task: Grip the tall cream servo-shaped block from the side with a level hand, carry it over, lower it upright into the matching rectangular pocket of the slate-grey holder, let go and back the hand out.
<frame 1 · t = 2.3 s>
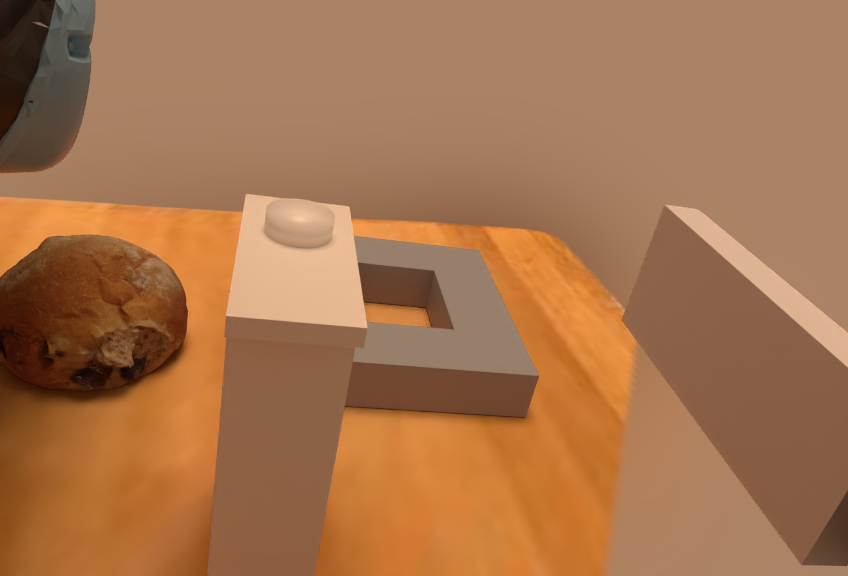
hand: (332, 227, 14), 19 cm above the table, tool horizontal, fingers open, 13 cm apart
bread roll: (92, 348, 41), on the table
grey holder: (393, 333, 48), on the table
cream block: (261, 543, 31), on the table
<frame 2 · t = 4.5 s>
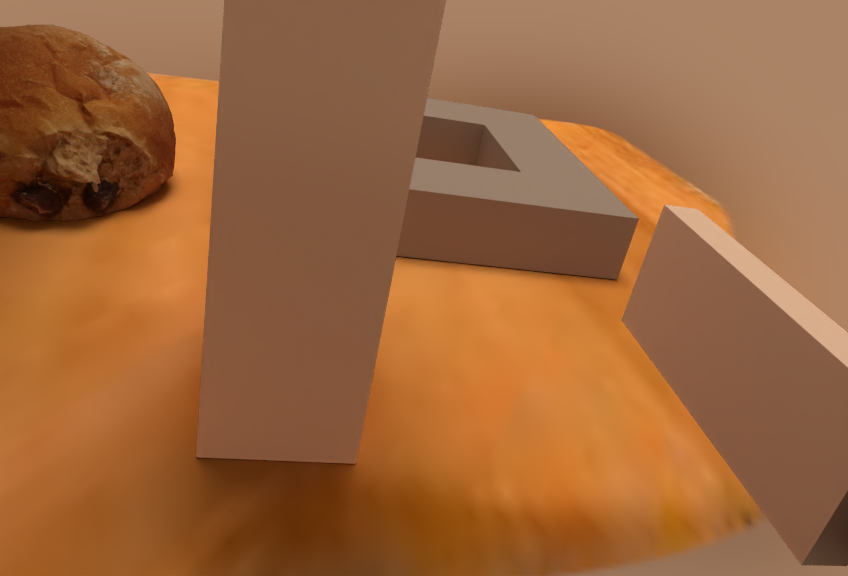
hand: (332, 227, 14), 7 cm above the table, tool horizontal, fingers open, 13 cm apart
bread roll: (49, 184, 31), on the table
grey holder: (437, 193, 38), on the table
cream block: (279, 389, 21), on the table
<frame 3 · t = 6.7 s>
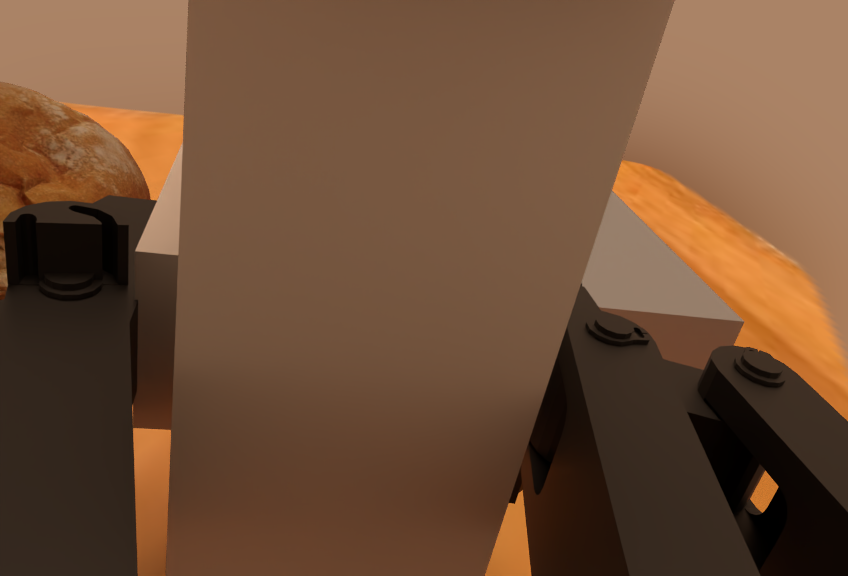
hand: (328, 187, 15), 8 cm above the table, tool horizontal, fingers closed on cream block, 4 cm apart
grey holder: (476, 269, 31), on the table
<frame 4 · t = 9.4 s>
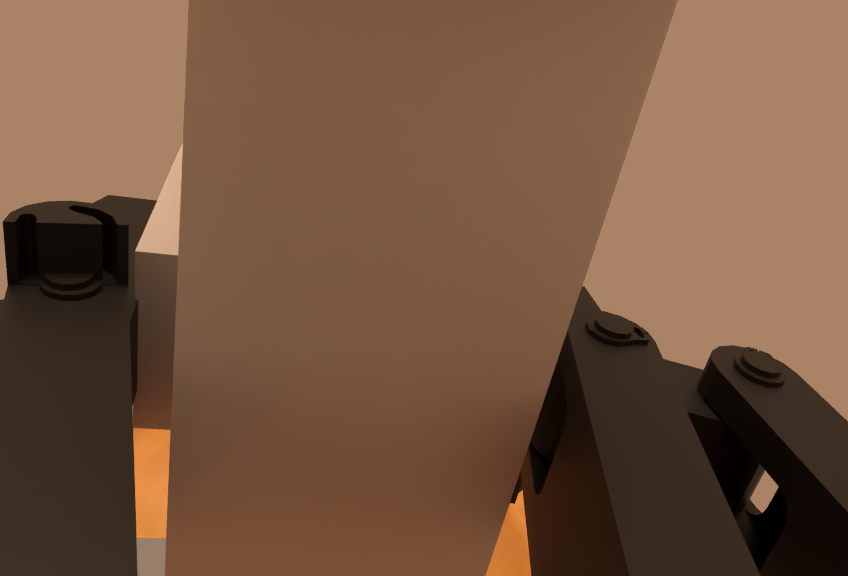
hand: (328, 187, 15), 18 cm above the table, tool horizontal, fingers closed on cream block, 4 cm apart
when the fingers open (9 cm above the table, at t = 12.4 s): cream block drops 1 cm, resting in grey holder.
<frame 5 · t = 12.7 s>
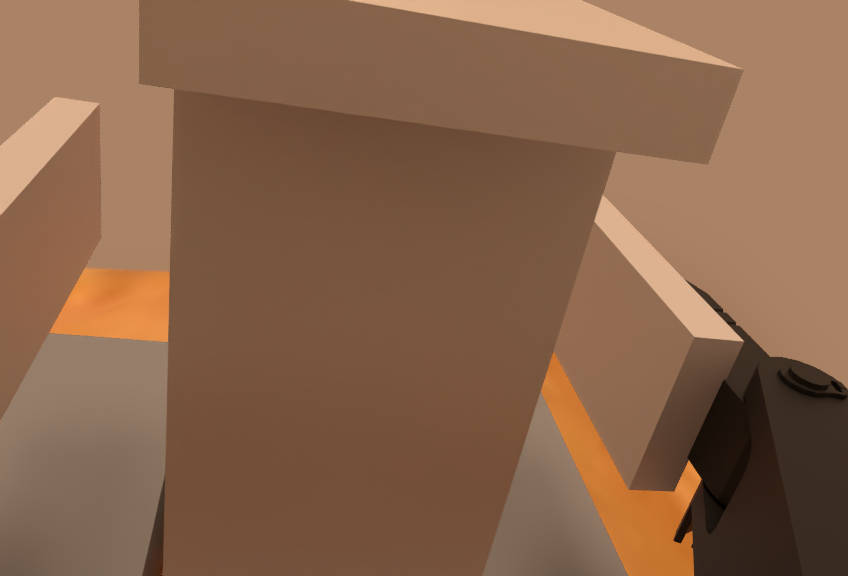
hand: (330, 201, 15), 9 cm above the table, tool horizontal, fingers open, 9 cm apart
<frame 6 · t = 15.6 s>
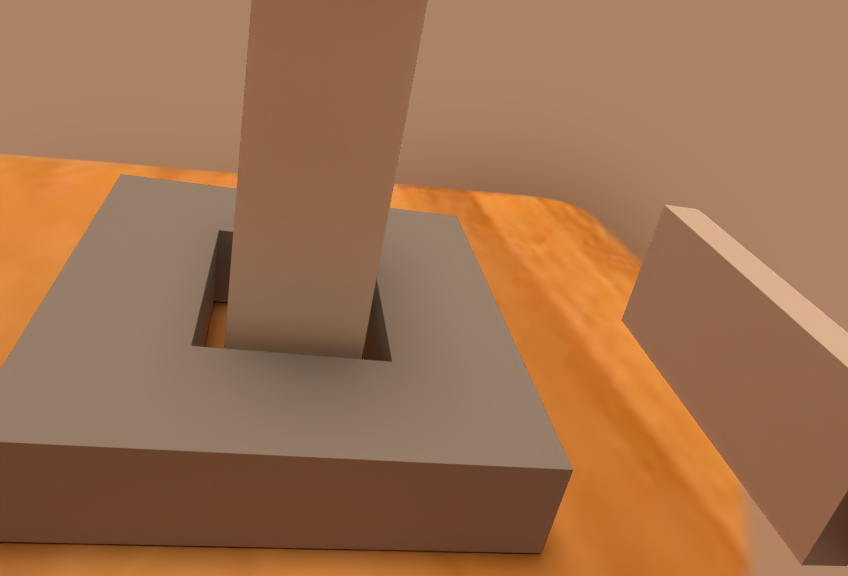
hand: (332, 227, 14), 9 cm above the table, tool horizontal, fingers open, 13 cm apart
grey holder: (286, 363, 25), on the table
cream block: (287, 364, 25), resting in grey holder
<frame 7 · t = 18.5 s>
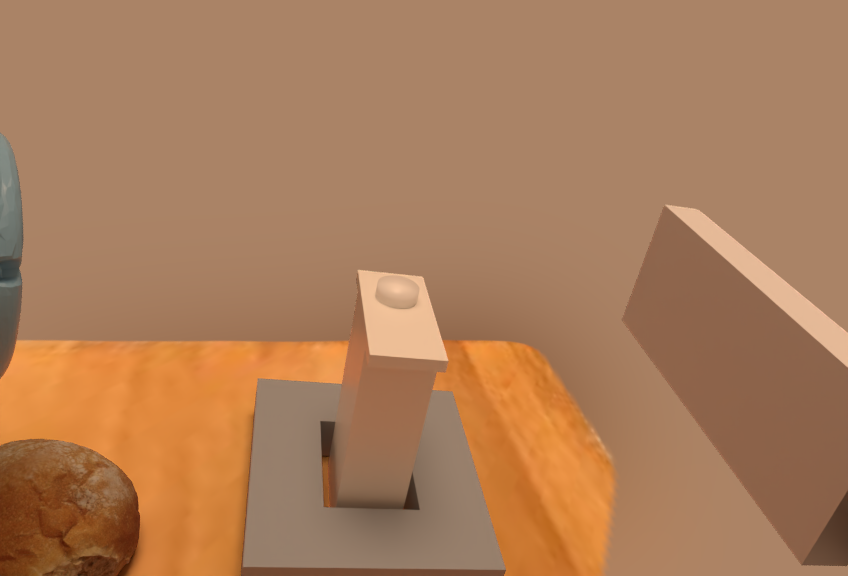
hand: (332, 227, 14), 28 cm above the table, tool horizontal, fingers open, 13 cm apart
bread roll: (38, 560, 38), on the table
grey holder: (359, 498, 46), on the table
cream block: (360, 499, 46), resting in grey holder
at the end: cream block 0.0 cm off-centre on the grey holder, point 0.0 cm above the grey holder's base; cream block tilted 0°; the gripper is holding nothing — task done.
